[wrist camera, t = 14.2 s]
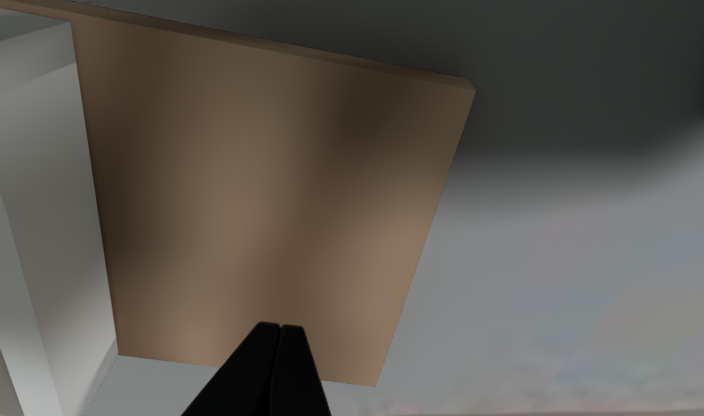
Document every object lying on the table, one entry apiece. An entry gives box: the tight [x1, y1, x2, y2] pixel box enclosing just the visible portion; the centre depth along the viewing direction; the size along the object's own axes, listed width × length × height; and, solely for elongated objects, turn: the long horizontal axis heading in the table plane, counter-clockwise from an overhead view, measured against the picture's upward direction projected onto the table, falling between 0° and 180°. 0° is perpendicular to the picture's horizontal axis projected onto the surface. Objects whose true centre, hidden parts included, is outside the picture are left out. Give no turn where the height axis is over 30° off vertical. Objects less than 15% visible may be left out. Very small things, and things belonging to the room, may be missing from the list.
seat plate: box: [0, 0, 477, 387], centre depth 14 cm, size 20×13×3 cm, turn 79°
